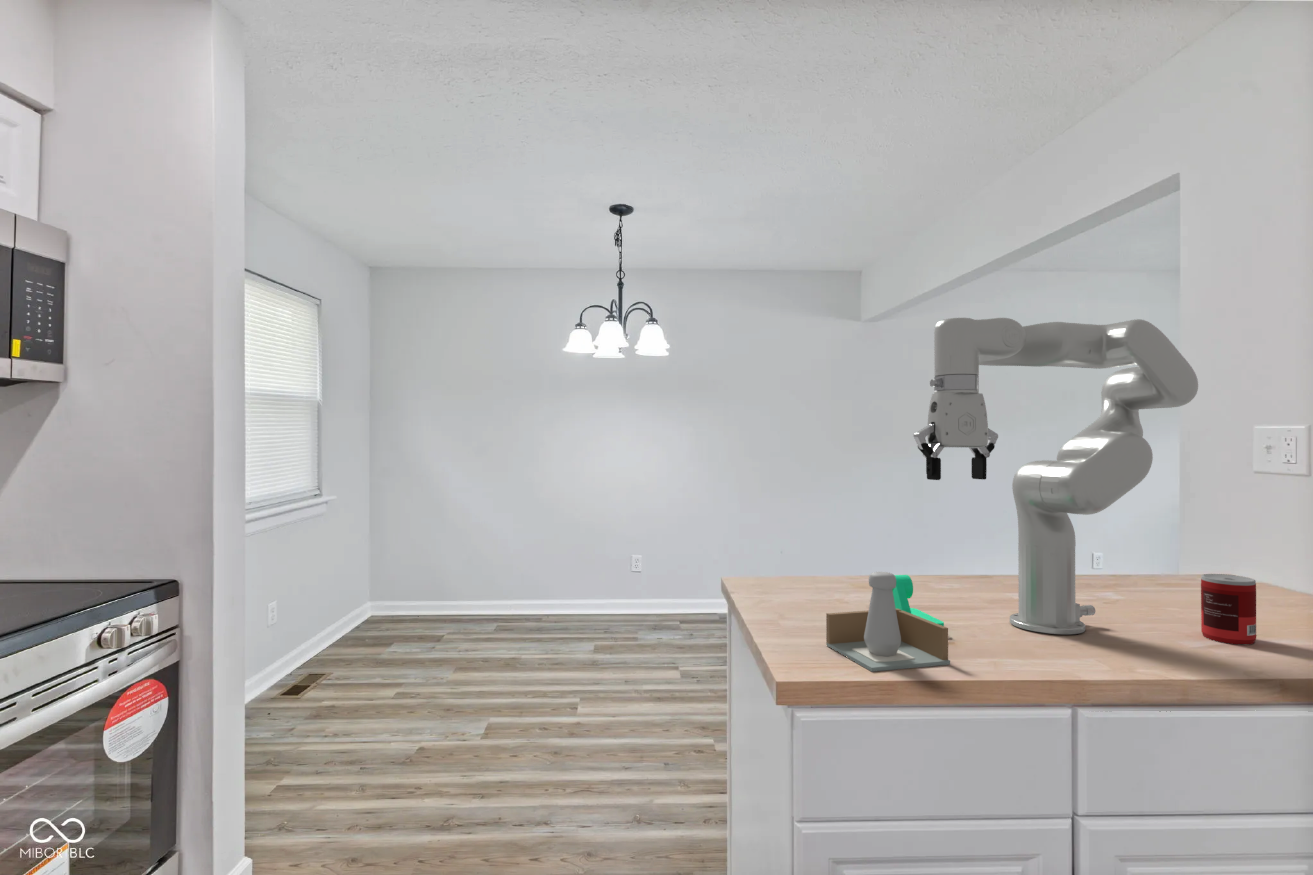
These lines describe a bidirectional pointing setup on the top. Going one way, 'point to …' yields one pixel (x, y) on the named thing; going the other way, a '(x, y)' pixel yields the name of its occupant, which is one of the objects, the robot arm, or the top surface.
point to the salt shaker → (882, 616)
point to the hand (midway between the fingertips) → (956, 479)
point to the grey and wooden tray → (917, 647)
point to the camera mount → (904, 592)
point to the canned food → (1228, 608)
